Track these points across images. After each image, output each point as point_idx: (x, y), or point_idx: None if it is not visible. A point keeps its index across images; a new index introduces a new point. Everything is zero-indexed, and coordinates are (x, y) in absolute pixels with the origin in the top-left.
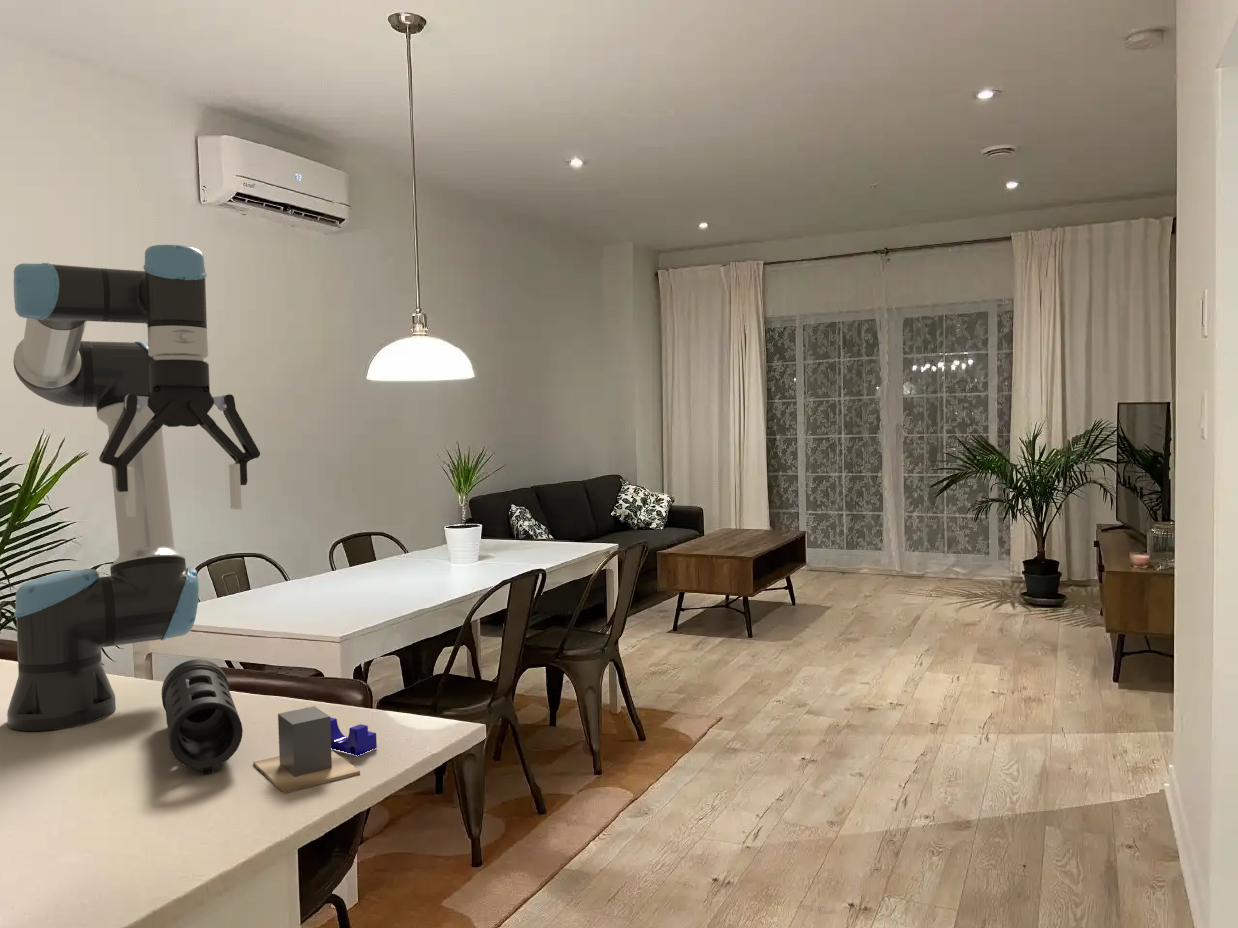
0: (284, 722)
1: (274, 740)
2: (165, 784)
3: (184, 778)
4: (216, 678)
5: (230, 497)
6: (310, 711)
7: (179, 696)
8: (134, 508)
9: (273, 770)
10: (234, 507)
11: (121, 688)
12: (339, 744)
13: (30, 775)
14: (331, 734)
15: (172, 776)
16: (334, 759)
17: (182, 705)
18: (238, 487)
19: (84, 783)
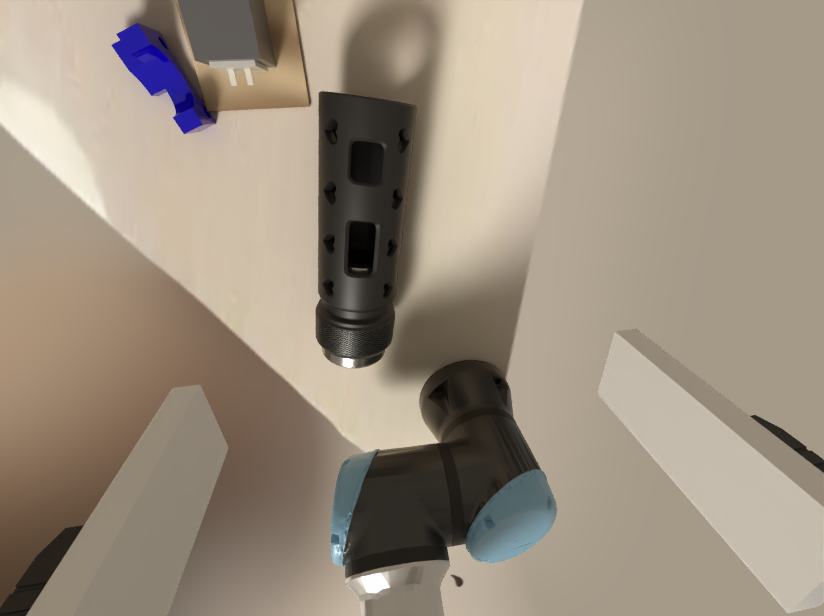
0: (253, 17)
1: (275, 193)
2: None
3: None
4: (335, 270)
5: (210, 492)
6: (203, 28)
7: (392, 209)
8: (642, 350)
9: (287, 45)
10: (205, 408)
11: None
12: (182, 75)
13: (519, 236)
14: (190, 102)
15: None
16: None
17: (397, 148)
18: (122, 486)
19: (484, 173)
